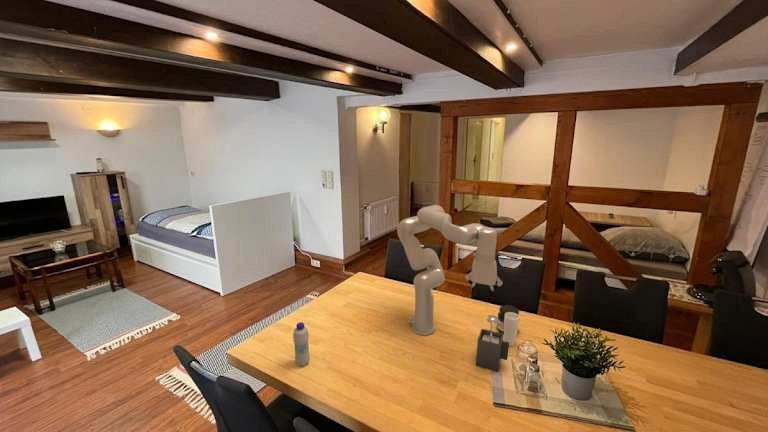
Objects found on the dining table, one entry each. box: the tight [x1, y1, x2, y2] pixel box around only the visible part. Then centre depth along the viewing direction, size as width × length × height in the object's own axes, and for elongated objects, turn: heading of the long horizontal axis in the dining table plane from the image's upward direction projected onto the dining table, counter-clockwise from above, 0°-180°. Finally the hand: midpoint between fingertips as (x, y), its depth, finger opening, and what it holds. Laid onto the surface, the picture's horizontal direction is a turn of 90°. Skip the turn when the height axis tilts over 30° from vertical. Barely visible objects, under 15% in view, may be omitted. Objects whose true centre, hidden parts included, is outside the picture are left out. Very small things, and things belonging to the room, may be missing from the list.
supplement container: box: [496, 304, 521, 334], centre depth 173 cm, size 10×10×12 cm
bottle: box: [292, 322, 311, 367], centre depth 147 cm, size 7×7×20 cm
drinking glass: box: [503, 312, 520, 347], centre depth 162 cm, size 7×7×15 cm
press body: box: [475, 328, 510, 373], centre depth 148 cm, size 12×10×13 cm
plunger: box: [482, 314, 500, 344], centre depth 146 cm, size 7×7×12 cm
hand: (482, 295), depth 144 cm, fingers open, 6 cm apart
